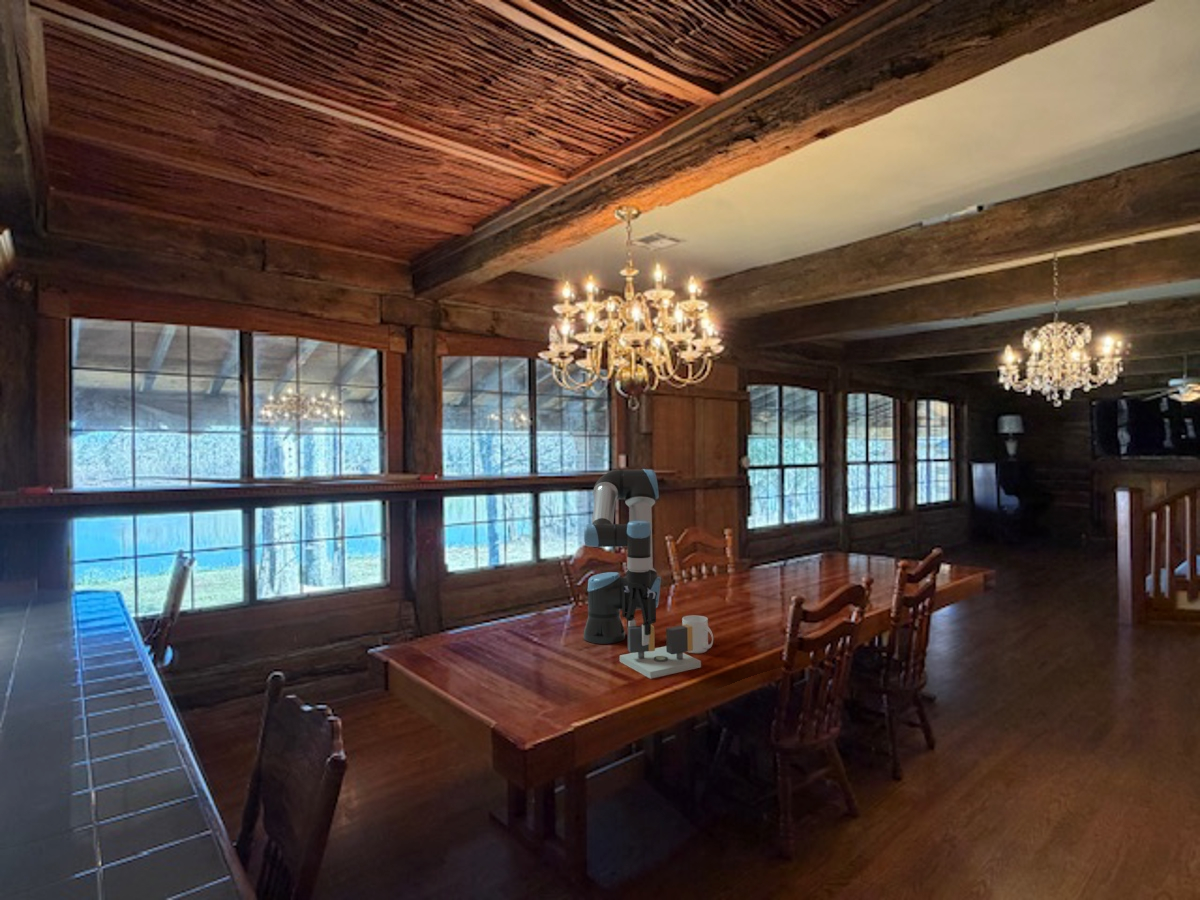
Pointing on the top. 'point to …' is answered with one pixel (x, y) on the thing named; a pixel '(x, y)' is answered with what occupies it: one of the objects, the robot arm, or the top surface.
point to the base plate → (659, 663)
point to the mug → (699, 632)
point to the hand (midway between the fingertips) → (638, 642)
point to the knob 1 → (639, 641)
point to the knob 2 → (679, 640)
